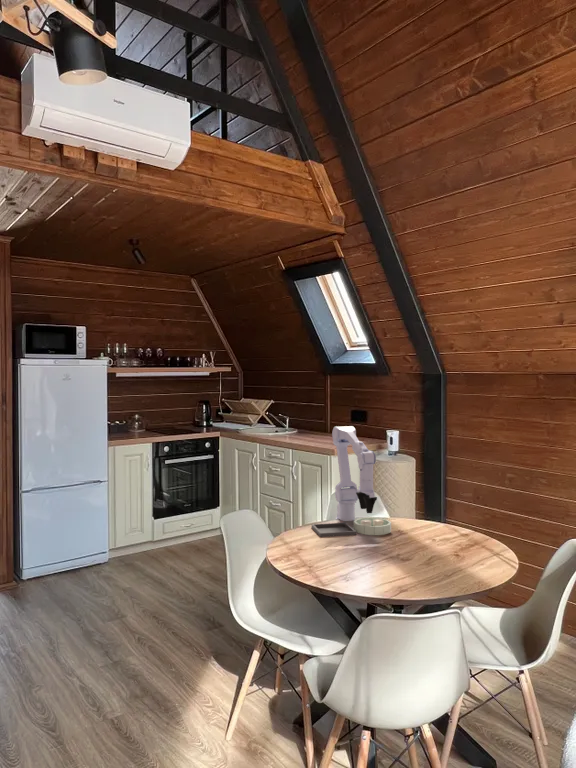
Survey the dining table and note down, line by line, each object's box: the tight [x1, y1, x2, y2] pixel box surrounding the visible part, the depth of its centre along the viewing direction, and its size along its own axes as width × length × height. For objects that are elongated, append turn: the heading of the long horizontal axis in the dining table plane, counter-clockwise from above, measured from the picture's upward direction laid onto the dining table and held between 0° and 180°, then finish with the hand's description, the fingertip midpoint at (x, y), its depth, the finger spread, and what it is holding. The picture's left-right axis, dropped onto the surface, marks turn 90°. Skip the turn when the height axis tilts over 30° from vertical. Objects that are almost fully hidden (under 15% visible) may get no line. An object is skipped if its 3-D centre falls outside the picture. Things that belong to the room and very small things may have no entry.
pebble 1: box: [361, 520, 371, 526], centre depth 248 cm, size 4×4×4 cm
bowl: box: [353, 516, 392, 536], centre depth 249 cm, size 16×16×4 cm
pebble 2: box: [373, 519, 384, 526], centre depth 249 cm, size 4×4×4 cm
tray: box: [311, 521, 357, 538], centre depth 247 cm, size 15×16×2 cm
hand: (366, 510), depth 248 cm, fingers open, 7 cm apart
